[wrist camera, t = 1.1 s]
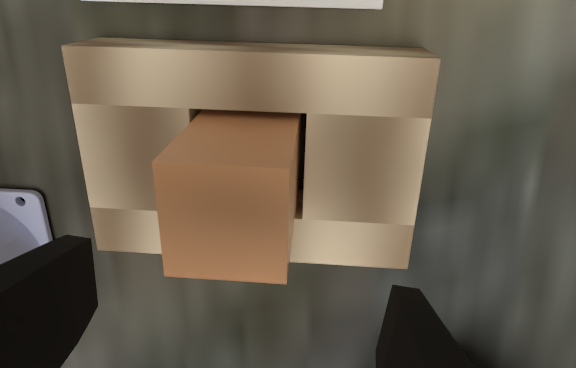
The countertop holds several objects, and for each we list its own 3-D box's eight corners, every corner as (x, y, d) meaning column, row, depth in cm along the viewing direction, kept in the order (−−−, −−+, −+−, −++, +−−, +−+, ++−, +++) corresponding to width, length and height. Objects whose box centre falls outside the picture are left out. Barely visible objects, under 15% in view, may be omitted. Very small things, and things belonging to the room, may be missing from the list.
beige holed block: (124, 218, 23) (97, 249, 20) (98, 37, 19) (61, 45, 17) (396, 234, 22) (407, 269, 19) (423, 48, 19) (441, 58, 16)
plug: (217, 179, 22) (164, 276, 14) (214, 98, 20) (151, 161, 13) (299, 183, 22) (286, 284, 14) (302, 101, 20) (289, 169, 13)
